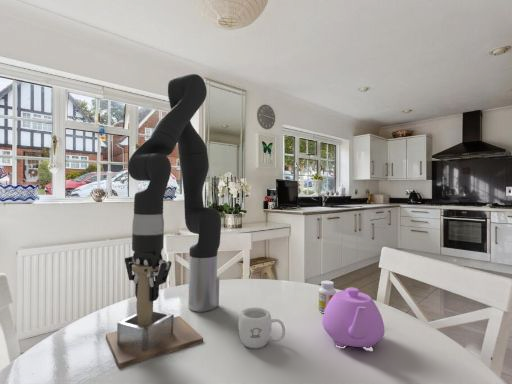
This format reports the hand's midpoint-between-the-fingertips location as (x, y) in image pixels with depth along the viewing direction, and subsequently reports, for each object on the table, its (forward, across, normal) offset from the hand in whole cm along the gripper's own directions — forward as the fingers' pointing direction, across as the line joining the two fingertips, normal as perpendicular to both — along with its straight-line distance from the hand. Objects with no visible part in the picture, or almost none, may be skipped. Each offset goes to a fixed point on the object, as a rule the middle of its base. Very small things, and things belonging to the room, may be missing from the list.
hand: (146, 298), depth 75 cm
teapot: (+11, -48, -23) cm, 54 cm away
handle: (+6, 0, +1) cm, 6 cm away
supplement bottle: (+11, -38, -40) cm, 57 cm away
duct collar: (+11, 0, 0) cm, 11 cm away
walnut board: (+11, -1, -2) cm, 11 cm away
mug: (+11, -27, -12) cm, 32 cm away
